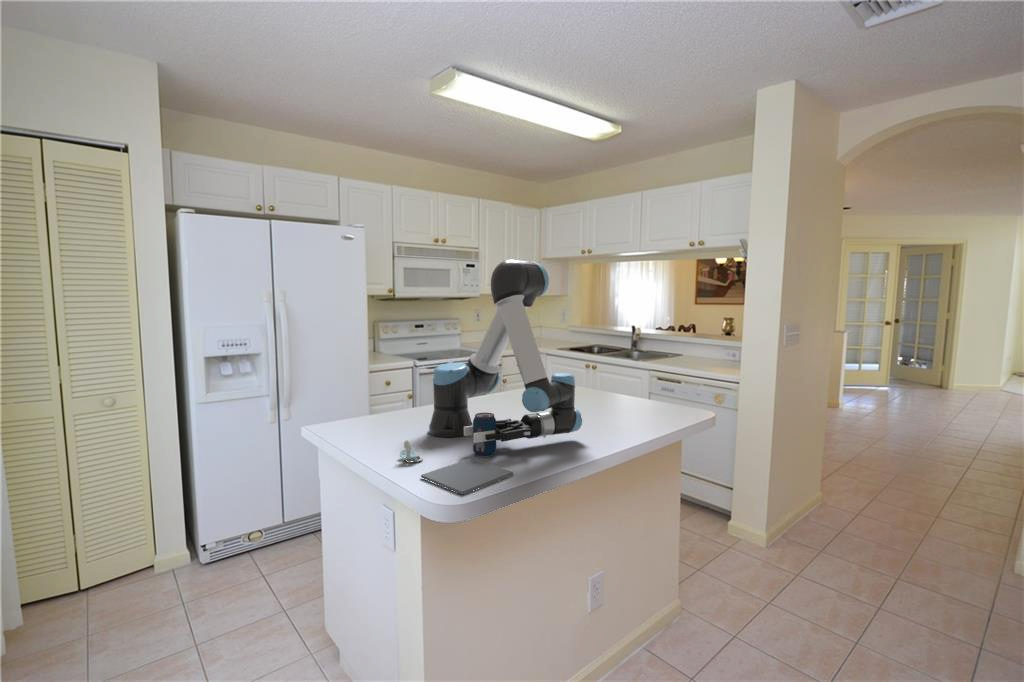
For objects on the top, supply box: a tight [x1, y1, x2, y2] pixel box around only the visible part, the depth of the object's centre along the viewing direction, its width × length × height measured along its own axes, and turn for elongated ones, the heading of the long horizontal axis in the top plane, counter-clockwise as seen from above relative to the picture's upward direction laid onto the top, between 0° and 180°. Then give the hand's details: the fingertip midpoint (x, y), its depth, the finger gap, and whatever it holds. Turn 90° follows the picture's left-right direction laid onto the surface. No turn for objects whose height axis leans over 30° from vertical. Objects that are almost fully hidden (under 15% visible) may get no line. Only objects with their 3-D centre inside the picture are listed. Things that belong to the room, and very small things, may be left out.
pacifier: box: [399, 439, 424, 463], centre depth 142 cm, size 7×6×6 cm
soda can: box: [472, 412, 497, 458], centre depth 147 cm, size 7×7×12 cm
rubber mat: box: [420, 457, 514, 496], centre depth 129 cm, size 16×18×1 cm
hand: (469, 434), depth 144 cm, fingers closed on soda can, 7 cm apart
